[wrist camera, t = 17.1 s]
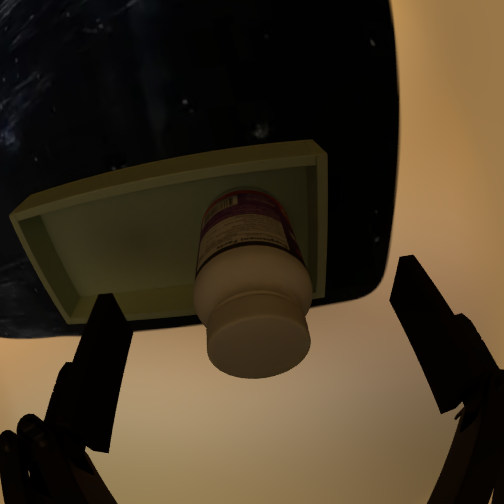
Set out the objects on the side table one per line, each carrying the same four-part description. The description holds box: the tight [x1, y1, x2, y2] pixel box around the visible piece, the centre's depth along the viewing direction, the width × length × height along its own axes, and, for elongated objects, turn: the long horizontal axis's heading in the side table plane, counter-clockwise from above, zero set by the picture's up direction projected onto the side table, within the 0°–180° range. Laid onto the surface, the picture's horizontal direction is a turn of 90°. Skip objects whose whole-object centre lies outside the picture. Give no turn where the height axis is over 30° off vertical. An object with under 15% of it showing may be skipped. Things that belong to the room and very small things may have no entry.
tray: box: [9, 140, 328, 324], centre depth 18 cm, size 19×10×3 cm, turn 96°
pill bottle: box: [193, 187, 312, 379], centre depth 15 cm, size 5×5×10 cm
